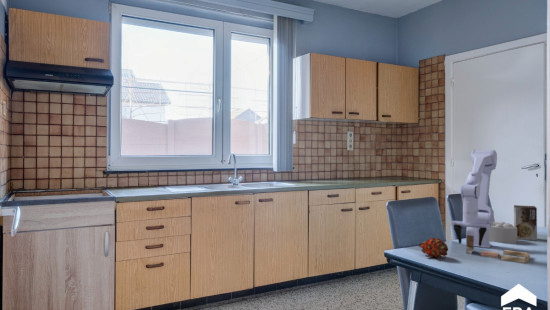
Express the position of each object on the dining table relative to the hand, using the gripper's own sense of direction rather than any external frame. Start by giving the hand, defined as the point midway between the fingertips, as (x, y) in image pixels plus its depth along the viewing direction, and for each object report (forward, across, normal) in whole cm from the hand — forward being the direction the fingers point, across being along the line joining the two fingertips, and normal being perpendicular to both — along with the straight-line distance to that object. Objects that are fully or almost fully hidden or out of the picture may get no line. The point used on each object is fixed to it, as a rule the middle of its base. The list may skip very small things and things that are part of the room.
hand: (469, 244), depth 167 cm
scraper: (+3, 0, 0) cm, 3 cm away
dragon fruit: (+4, -11, -17) cm, 21 cm away
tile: (+4, +8, 0) cm, 8 cm away
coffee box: (+3, +18, +45) cm, 49 cm away
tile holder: (+3, +16, 0) cm, 16 cm away
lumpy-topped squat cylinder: (+4, +9, +33) cm, 35 cm away
